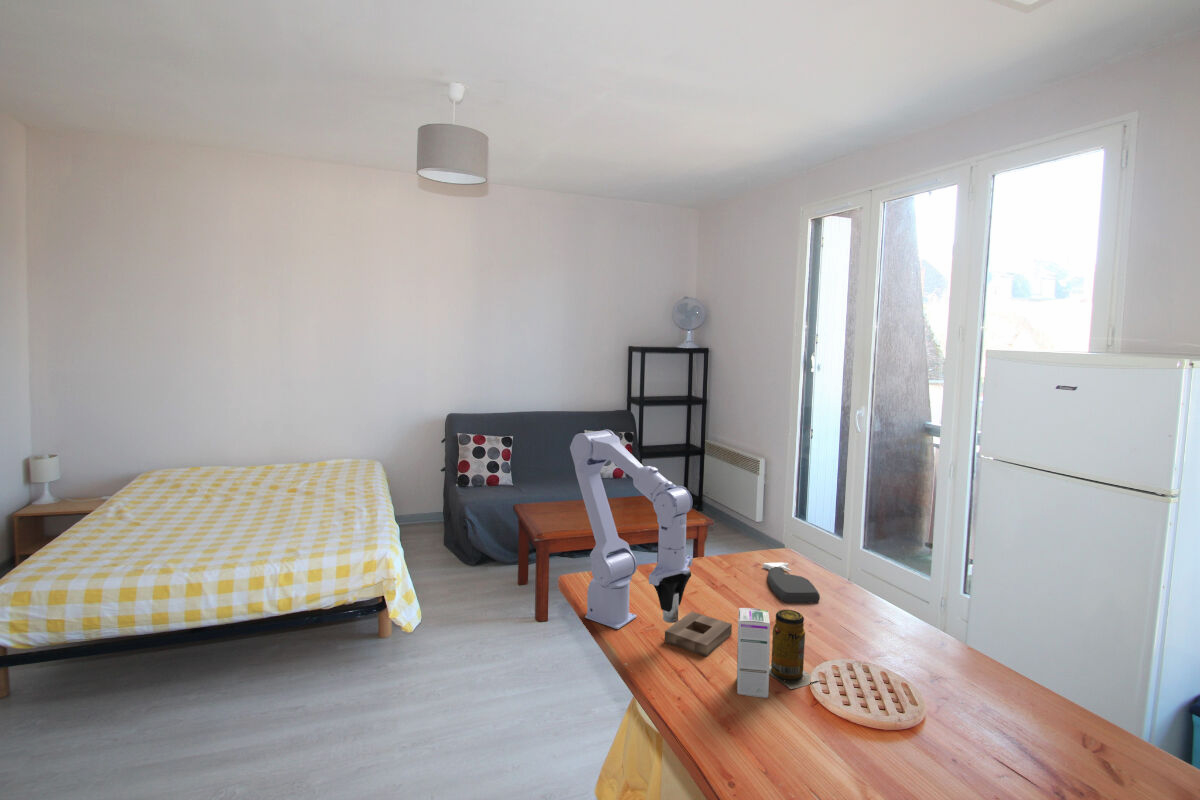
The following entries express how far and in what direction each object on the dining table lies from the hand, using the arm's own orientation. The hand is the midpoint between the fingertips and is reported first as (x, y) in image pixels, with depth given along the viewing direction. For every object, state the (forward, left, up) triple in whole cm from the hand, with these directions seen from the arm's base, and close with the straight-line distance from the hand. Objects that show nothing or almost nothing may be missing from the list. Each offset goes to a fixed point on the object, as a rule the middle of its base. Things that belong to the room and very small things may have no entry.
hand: (670, 607), depth 132 cm
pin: (0, 0, -3) cm, 3 cm away
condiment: (+24, +4, -9) cm, 26 cm away
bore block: (+3, +6, -8) cm, 11 cm away
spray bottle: (+8, +48, -9) cm, 50 cm away
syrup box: (+20, -5, -9) cm, 23 cm away
